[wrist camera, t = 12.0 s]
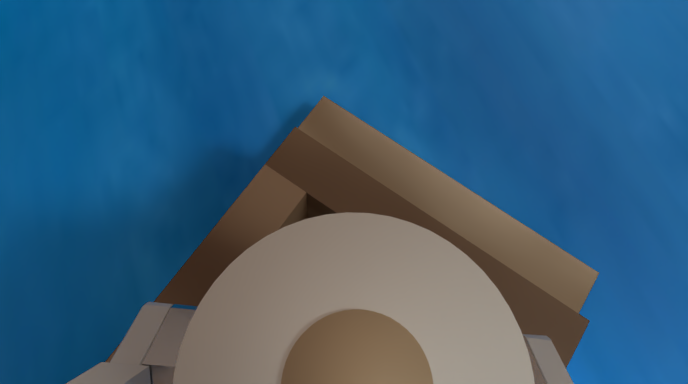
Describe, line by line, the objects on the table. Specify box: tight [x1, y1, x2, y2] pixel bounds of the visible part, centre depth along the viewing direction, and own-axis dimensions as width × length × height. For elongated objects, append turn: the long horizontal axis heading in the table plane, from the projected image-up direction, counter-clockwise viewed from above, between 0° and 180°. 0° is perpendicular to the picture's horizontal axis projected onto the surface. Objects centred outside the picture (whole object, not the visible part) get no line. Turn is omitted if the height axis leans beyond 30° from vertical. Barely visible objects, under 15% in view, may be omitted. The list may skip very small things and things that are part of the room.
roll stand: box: [105, 96, 599, 368], centre depth 15 cm, size 16×12×5 cm
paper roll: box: [173, 212, 535, 384], centre depth 10 cm, size 5×5×8 cm
